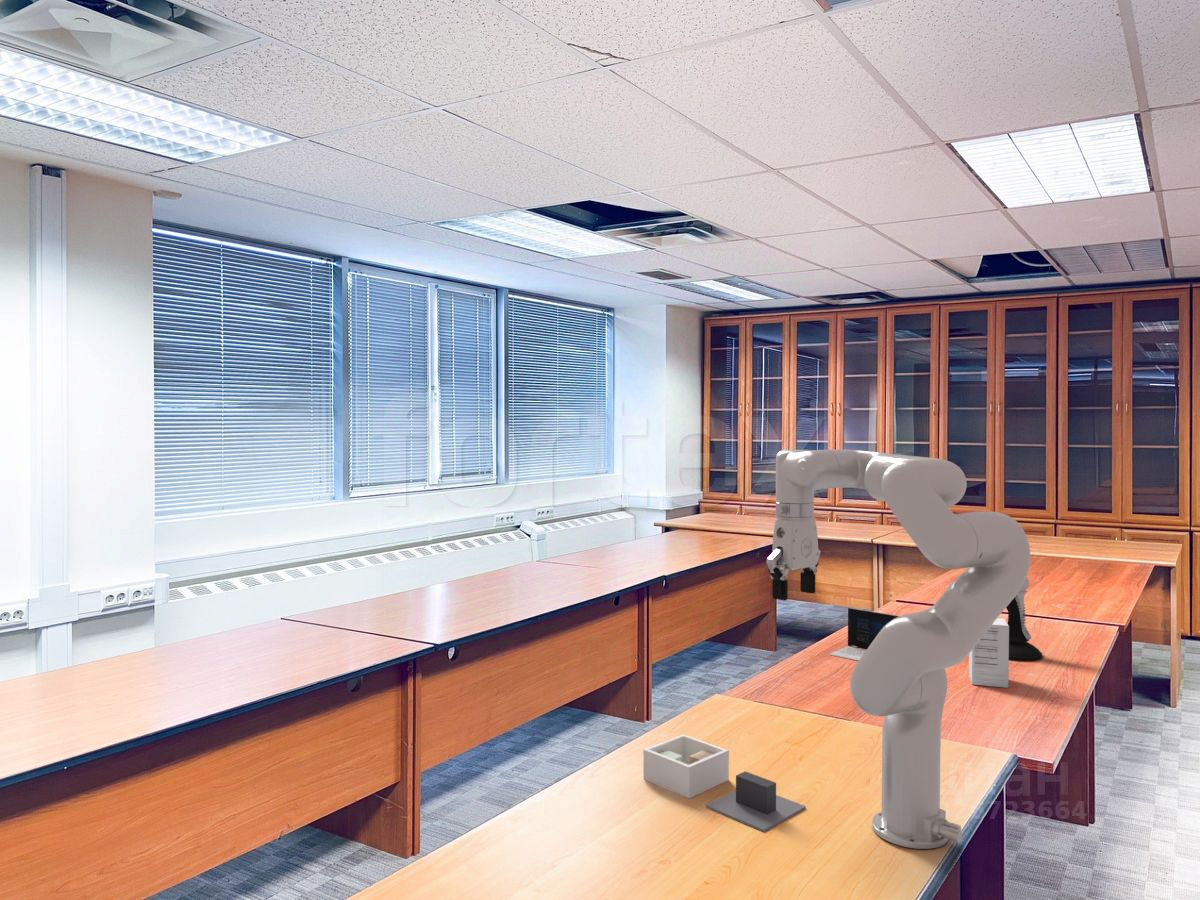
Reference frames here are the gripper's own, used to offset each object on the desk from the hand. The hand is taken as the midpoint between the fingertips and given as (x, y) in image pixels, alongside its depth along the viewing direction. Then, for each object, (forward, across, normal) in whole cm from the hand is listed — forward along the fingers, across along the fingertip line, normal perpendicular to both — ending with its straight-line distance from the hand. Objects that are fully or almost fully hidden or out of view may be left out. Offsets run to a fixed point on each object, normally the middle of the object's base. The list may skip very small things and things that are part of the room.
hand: (794, 595), depth 170 cm
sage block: (+36, -20, +16) cm, 44 cm away
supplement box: (+36, +90, -2) cm, 97 cm away
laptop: (+37, +88, +34) cm, 102 cm away
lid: (+37, -18, -4) cm, 41 cm away
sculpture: (+36, +123, +8) cm, 128 cm away
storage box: (+36, -18, +13) cm, 43 cm away
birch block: (+36, -16, +10) cm, 40 cm away
